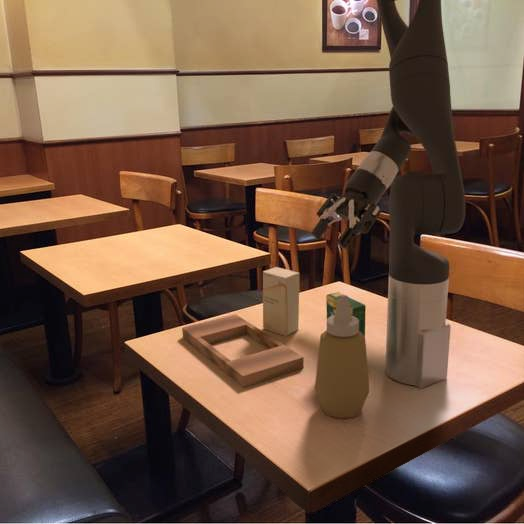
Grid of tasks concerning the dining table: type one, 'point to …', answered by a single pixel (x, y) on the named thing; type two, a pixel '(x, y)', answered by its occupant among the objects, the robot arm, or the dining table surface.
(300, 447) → the dining table surface
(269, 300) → the skincare box
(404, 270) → the robot arm
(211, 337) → the wooden frame
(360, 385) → the squeeze bottle
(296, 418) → the dining table surface
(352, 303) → the coffee box
